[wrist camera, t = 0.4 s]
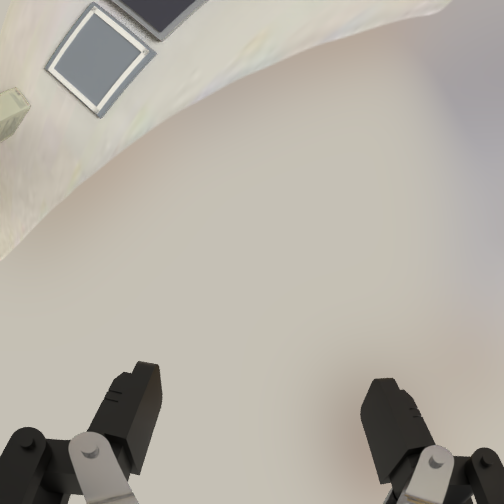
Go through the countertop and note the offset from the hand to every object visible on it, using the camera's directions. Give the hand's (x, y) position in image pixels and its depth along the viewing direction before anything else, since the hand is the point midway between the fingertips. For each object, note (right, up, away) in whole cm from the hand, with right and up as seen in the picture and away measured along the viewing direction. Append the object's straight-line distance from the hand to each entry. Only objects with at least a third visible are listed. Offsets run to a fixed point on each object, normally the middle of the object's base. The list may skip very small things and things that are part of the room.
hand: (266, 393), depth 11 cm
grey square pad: (-18, +27, +16) cm, 36 cm away
